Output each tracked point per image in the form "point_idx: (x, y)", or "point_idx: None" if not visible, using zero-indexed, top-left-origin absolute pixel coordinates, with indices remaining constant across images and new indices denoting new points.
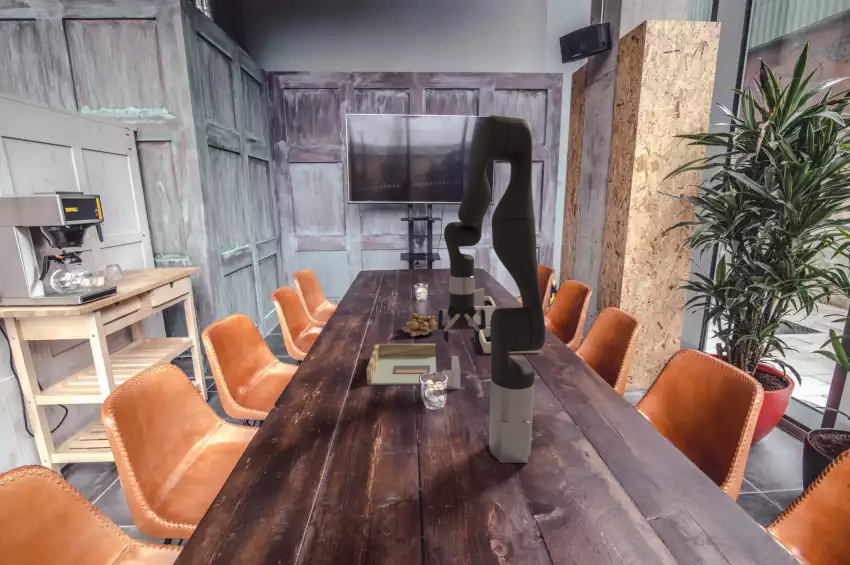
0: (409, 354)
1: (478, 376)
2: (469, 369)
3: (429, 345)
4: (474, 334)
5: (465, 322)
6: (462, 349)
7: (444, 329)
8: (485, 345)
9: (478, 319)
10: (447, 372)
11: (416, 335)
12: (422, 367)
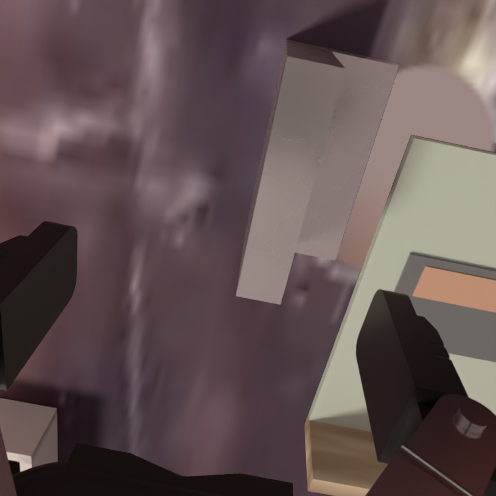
0: None
1: (133, 180)
2: (166, 269)
3: (347, 480)
4: (31, 298)
5: (98, 473)
6: (155, 458)
7: (492, 425)
8: (31, 441)
9: None
10: (313, 229)
11: None
12: None
